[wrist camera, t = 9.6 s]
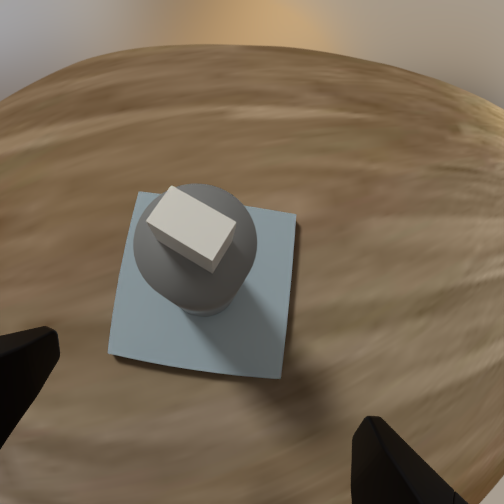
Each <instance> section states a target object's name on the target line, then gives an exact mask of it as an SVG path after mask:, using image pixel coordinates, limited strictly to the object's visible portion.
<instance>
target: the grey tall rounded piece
mask: <svg viewBox="0 0 504 504" xmlns="http://www.w3.org/2000/svg"><path fill="white" fill-rule="evenodd" d="M133 250H134V257H135V261H136V264H137V267H138V269H139V271H140V273H141V275H142V277H143V278H144V279H145V281H146V282H147V283H148V284H149V285H150V286H151V287H152V288H153V289H154V290H155V291H156V292H158V293H159V294H160V295H162V296H163V297H165V298H166V299H168V300H169V301H171V302H172V303H174V304H175V305H176V306H178V307H179V308H181V309H182V310H184V311H185V312H187V313H189V314H191V315H194V316H199V317H208V316H213V315H216V314H218V313H220V312H222V311H223V310H224V309H226V308H227V307H228V306H229V305H230V303H231V302H232V300H233V299H234V297H235V295H236V294H237V292H238V290H239V289H240V287H241V285H242V284H243V282H244V281H245V279H246V277H247V276H248V274H249V272H250V270H251V268H252V266H253V263H254V260H255V257H256V252H257V233H256V229H255V225H254V222H253V220H252V218H251V216H250V214H249V212H248V211H247V209H246V208H245V206H244V205H243V204H242V203H241V202H240V201H239V200H238V199H237V198H236V197H234V196H233V195H232V194H230V193H228V192H227V191H225V190H223V189H221V188H218V187H215V186H211V185H206V184H187V185H181V186H178V187H173V186H172V185H171V186H170V188H169V189H168V190H167V191H166V192H164V193H162V194H161V195H159V196H158V197H157V198H155V199H154V200H153V201H152V202H151V203H150V204H149V205H148V206H147V208H146V209H145V210H144V212H143V213H142V215H141V217H140V219H139V221H138V223H137V226H136V229H135V233H134V239H133Z"/></svg>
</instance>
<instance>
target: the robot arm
mask: <svg viewBox="0 0 504 504" xmlns="http://www.w3.org/2000/svg"><path fill="white" fill-rule="evenodd" d="M59 357H60V348H59V340H58V334H57V332H56V331H55V330H54V329H52V328H49V327H47V326H42V327H38V328H34V329H29V330H25V331H20V332H16V333H11V334H6V335H2V336H0V449H1V448H2V446H3V445H4V443H5V441H6V440H7V438H8V437H9V435H10V434H11V433H12V431H13V430H14V428H15V427H16V425H17V424H18V422H19V421H20V419H21V418H22V417H23V415H24V414H25V412H26V411H27V410H28V408H29V407H30V405H31V404H32V403H33V401H34V400H35V398H36V397H37V395H38V394H39V392H40V391H41V389H42V387H43V385H44V384H45V382H46V380H47V378H48V377H49V375H50V373H51V372H52V370H53V368H54V367H55V365H56V363H57V362H58V360H59ZM351 497H352V504H468V503H467V502H466V501H465V500H464V499H463V498H462V497H461V496H460V495H459V494H458V493H457V492H454V489H453V488H452V487H450V486H449V485H448V484H447V483H446V482H445V481H444V480H443V479H442V478H441V477H440V476H439V475H438V474H437V473H436V472H435V471H434V470H433V469H432V468H431V467H430V466H429V465H428V464H427V463H426V462H425V461H424V460H423V459H422V458H421V457H420V456H419V455H418V454H417V453H416V452H415V451H414V450H413V449H412V448H411V447H410V446H409V445H408V444H407V443H406V442H405V441H404V440H403V439H402V438H401V437H400V436H399V435H398V434H397V433H396V432H395V431H394V430H393V429H392V428H391V427H390V426H389V425H388V424H387V423H386V422H385V421H384V420H383V419H382V418H381V417H379V416H367V417H365V418H364V420H363V421H362V423H361V424H360V426H359V427H358V429H357V430H356V432H355V433H354V436H353V439H352V464H351Z"/></svg>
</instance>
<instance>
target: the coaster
mask: <svg viewBox="0 0 504 504" xmlns="http://www.w3.org/2000/svg"><path fill="white" fill-rule="evenodd" d="M159 195H161V194H155V193H147V192H139V193H138V197H137V200H136V204H135V208H134V212H133V216H132V220H131V224H130V228H129V232H128V237H127V241H126V246H125V250H124V255H123V260H122V265H121V270H120V275H119V280H118V286H117V291H116V297H115V303H114V309H113V316H112V323H111V330H110V338H109V346H108V353H109V354H113V355H118V356H122V357H127V358H131V359H136V360H141V361H146V362H151V363H156V364H162V365H167V366H173V367H179V368H185V369H192V370H199V371H206V372H213V373H221V374H230V375H239V376H249V377H260V378H272V379H281V372H282V363H283V355H284V346H285V337H286V327H287V317H288V307H289V297H290V286H291V275H292V263H293V251H294V238H295V224H296V214H291V213H285V212H279V211H273V210H267V209H261V208H255V207H249V206H245V208H246V209H247V211H248V212H249V214H250V216H251V218H252V220H253V222H254V225H255V229H256V233H257V252H256V257H255V260H254V263H253V266H252V268H251V270H250V272H249V274H248V276H247V277H246V279H245V281H244V282H243V284H242V285H241V287H240V289H239V290H238V292H237V294H236V295H235V297H234V299H233V300H232V302H231V303H230V305H229V306H228V307H227V308H226V309H224V310H223V311H222V312H220V313H218V314H216V315H213V316H208V317H199V316H194V315H191V314H189V313H187V312H185V311H184V310H182V309H181V308H179V307H178V306H176V305H175V304H174V303H172V302H171V301H169V300H168V299H166V298H165V297H163V296H162V295H160V294H159V293H158V292H156V291H155V290H154V289H153V288H152V287H151V286H150V285H149V284H148V283H147V282H146V281H145V279H144V278H143V277H142V275H141V273H140V271H139V269H138V267H137V264H136V261H135V257H134V250H133V239H134V233H135V229H136V226H137V223H138V221H139V219H140V217H141V215H142V213H143V212H144V210H145V209H146V208H147V206H148V205H149V204H150V203H151V202H152V201H153V200H154V199H155V198H157V197H158V196H159Z"/></svg>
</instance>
